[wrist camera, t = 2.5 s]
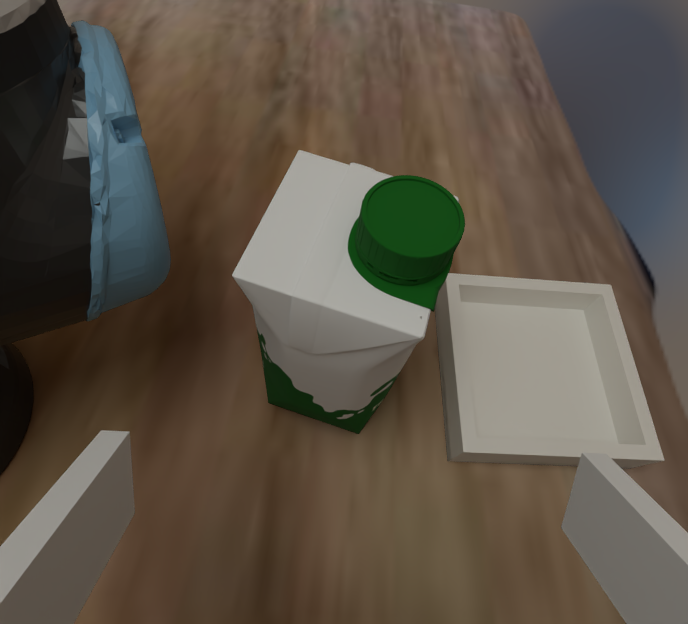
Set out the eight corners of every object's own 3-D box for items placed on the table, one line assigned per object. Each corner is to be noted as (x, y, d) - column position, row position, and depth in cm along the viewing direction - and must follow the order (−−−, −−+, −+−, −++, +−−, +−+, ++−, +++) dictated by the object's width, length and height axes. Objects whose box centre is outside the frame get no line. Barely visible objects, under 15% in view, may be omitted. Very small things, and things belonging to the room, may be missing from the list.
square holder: (447, 461, 32) (463, 452, 29) (433, 294, 39) (445, 272, 36) (630, 468, 33) (664, 460, 30) (586, 305, 40) (610, 284, 37)
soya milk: (366, 450, 32) (452, 333, 14) (250, 409, 33) (194, 249, 15) (396, 345, 36) (491, 154, 19) (292, 311, 37) (288, 94, 19)
